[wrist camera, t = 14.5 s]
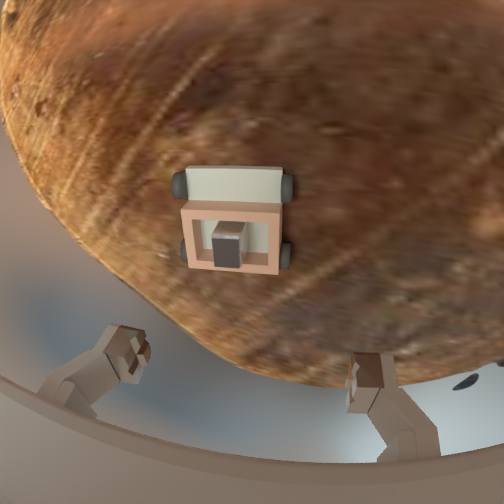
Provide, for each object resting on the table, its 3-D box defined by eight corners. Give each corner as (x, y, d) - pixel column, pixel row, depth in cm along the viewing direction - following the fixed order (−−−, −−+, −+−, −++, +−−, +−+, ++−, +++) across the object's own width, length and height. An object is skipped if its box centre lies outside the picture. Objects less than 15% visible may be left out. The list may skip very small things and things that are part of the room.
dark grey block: (221, 216, 48) (210, 236, 43) (247, 217, 48) (239, 238, 42) (223, 244, 51) (213, 267, 45) (248, 246, 50) (240, 269, 45)
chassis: (179, 165, 46) (166, 176, 42) (293, 167, 44) (291, 178, 40) (190, 255, 55) (181, 272, 51) (290, 262, 52) (287, 280, 48)
